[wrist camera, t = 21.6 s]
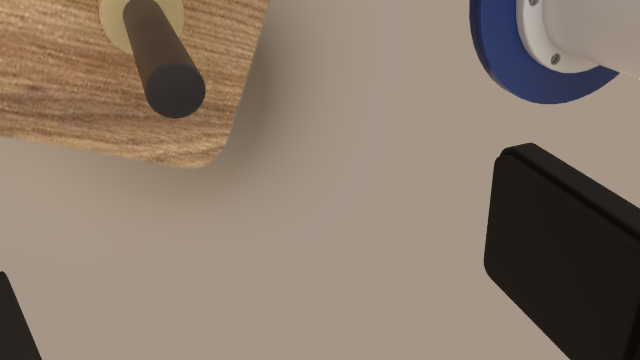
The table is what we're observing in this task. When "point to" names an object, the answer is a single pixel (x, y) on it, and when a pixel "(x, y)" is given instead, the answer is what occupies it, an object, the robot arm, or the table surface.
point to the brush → (156, 52)
